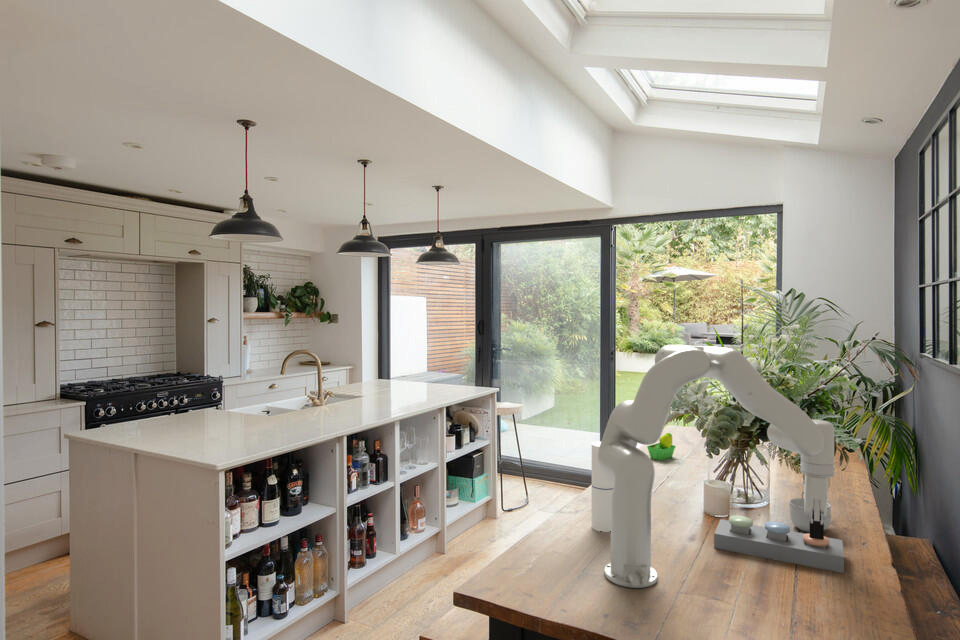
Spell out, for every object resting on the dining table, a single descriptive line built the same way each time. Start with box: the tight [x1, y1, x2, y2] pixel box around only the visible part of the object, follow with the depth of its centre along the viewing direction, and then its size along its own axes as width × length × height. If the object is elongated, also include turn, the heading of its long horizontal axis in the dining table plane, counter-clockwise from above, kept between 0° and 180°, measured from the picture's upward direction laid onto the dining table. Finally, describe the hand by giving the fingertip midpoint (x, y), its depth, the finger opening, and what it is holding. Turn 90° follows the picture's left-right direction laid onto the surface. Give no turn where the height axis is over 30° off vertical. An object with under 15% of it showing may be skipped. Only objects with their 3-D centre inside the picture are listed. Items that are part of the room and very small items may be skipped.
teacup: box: [788, 497, 832, 533], centre depth 171 cm, size 14×11×8 cm
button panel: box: [713, 518, 845, 574], centre depth 155 cm, size 30×12×4 cm, turn 60°
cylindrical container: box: [591, 440, 614, 533], centre depth 172 cm, size 7×7×25 cm
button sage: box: [728, 515, 754, 535], centre depth 160 cm, size 6×6×4 cm
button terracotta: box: [803, 532, 829, 549], centre depth 151 cm, size 6×6×4 cm
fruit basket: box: [646, 432, 676, 461], centre depth 250 cm, size 11×9×11 cm
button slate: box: [764, 521, 791, 542], centre depth 155 cm, size 6×6×4 cm
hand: (816, 537), depth 151 cm, fingers closed
